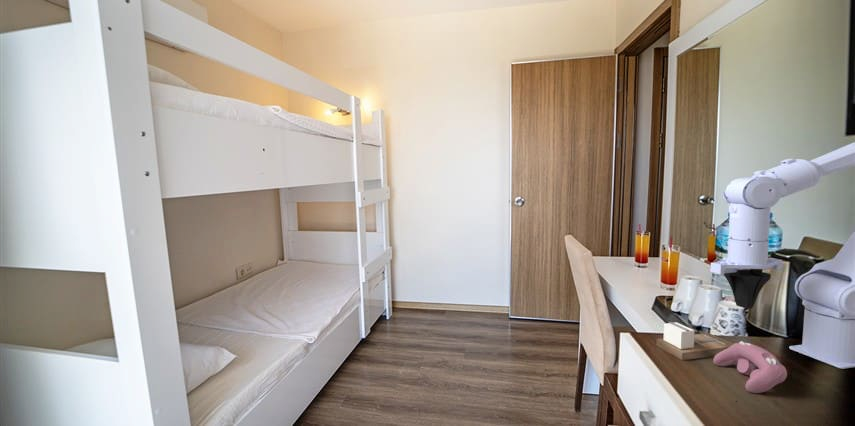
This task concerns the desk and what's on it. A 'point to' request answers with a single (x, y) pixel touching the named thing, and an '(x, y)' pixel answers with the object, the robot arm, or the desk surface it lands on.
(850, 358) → the robot arm
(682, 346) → the fader tab
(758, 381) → the video game controller
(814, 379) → the desk surface
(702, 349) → the fader board
